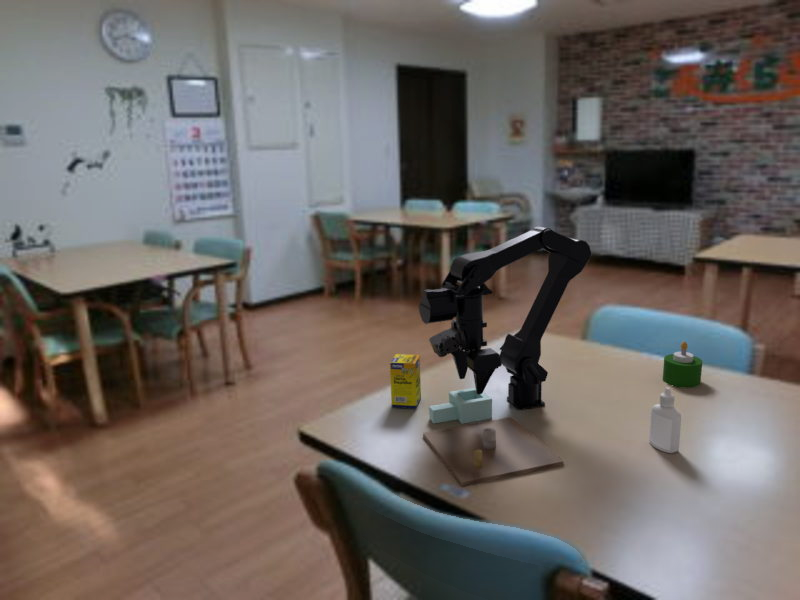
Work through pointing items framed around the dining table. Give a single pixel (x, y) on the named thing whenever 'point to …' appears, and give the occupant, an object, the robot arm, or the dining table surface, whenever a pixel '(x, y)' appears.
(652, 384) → the dining table surface
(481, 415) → the collar
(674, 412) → the eye dropper bottle
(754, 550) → the dining table surface
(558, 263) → the robot arm
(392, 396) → the supplement box
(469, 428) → the board
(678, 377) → the candle
